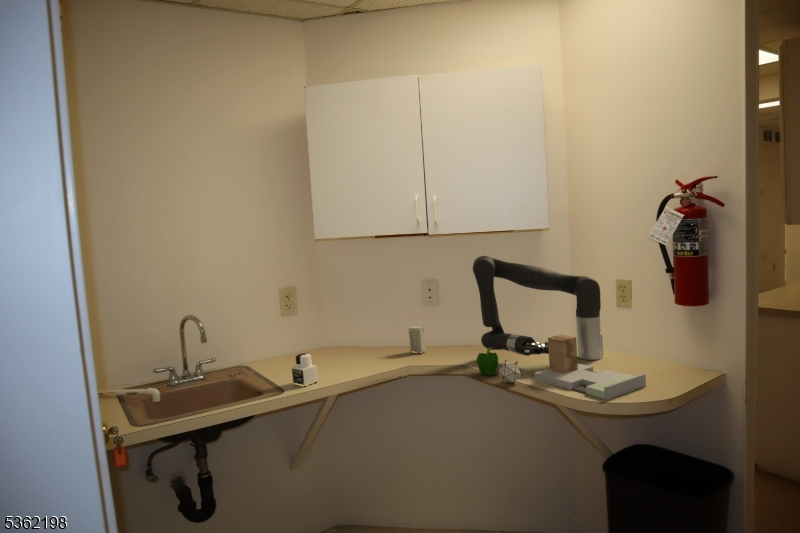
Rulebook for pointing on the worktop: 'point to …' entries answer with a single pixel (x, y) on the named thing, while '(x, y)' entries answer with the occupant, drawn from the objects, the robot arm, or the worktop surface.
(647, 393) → the worktop surface
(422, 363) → the worktop surface
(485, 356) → the bell pepper
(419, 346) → the skincare box
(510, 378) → the game die
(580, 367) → the board
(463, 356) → the worktop surface
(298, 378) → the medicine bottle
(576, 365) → the walnut block
